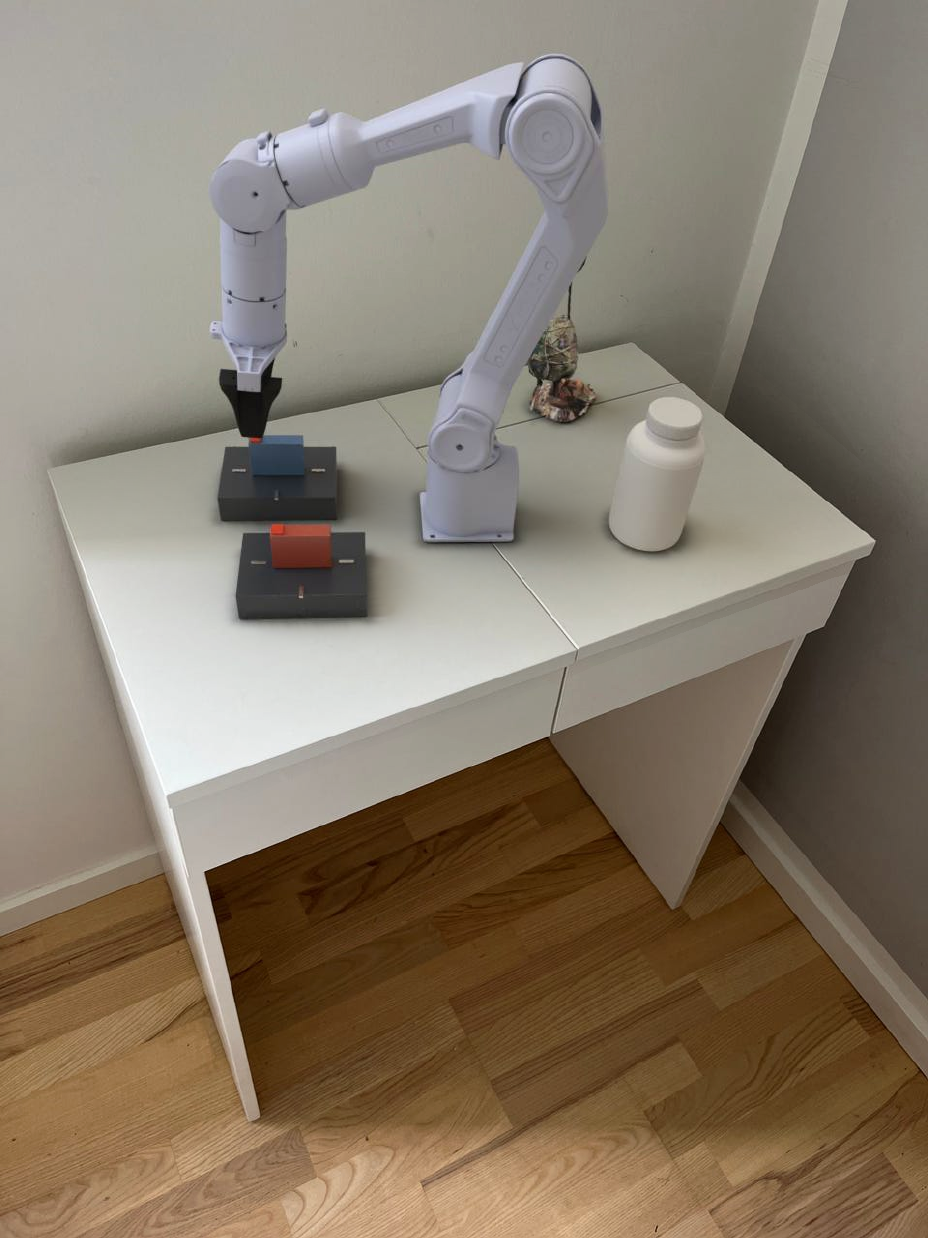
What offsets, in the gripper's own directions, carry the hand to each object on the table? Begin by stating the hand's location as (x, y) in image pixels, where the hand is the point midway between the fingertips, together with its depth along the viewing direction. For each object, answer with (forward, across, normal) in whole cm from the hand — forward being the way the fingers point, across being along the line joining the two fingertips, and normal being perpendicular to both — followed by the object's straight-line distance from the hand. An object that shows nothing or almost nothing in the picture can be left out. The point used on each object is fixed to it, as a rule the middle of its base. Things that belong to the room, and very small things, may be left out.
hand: (254, 412), depth 95 cm
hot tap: (+7, +15, +5) cm, 17 cm away
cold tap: (+7, 0, +3) cm, 7 cm away
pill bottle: (+7, +7, +42) cm, 43 cm away
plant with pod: (+8, -17, +36) cm, 40 cm away
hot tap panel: (+10, +15, +6) cm, 18 cm away
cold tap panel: (+10, 0, +3) cm, 10 cm away
